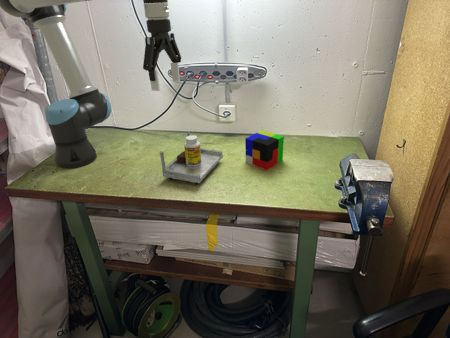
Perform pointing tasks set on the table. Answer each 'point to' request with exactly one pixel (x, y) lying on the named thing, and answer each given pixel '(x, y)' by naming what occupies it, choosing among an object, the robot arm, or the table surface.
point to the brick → (182, 157)
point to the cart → (191, 172)
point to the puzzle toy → (264, 149)
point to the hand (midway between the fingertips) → (166, 85)
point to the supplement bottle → (192, 151)
